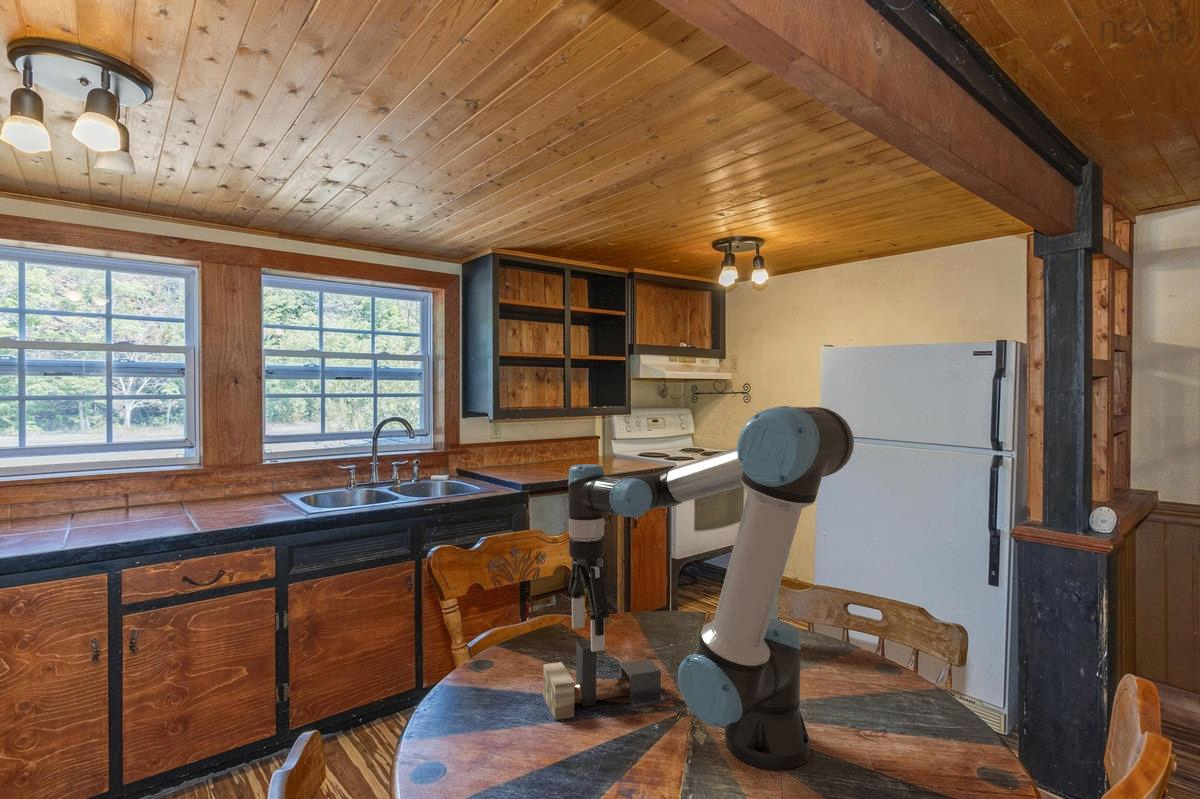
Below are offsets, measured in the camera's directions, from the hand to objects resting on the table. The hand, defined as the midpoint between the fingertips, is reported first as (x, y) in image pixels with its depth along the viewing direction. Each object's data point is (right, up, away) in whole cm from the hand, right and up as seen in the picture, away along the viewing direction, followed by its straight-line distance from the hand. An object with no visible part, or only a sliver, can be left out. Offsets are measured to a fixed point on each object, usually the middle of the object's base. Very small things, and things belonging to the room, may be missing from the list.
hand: (587, 638), depth 127 cm
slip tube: (+2, -14, +1) cm, 14 cm away
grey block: (+11, -14, +4) cm, 18 cm away
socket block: (-6, -14, -2) cm, 15 cm away
